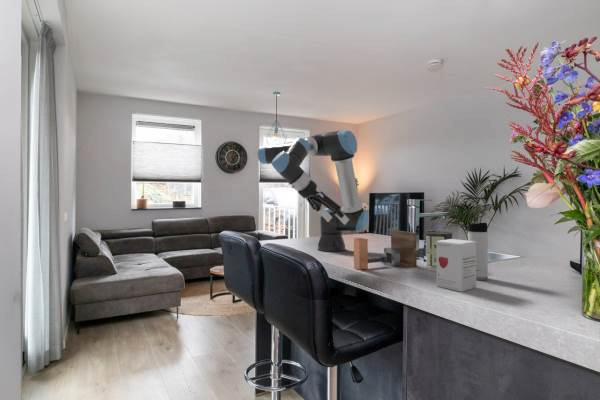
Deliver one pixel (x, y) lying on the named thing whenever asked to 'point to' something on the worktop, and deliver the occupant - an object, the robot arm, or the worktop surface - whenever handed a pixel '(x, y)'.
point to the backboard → (405, 247)
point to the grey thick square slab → (392, 257)
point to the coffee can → (434, 246)
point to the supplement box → (456, 264)
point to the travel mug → (480, 248)
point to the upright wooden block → (363, 254)
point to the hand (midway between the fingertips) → (338, 220)
